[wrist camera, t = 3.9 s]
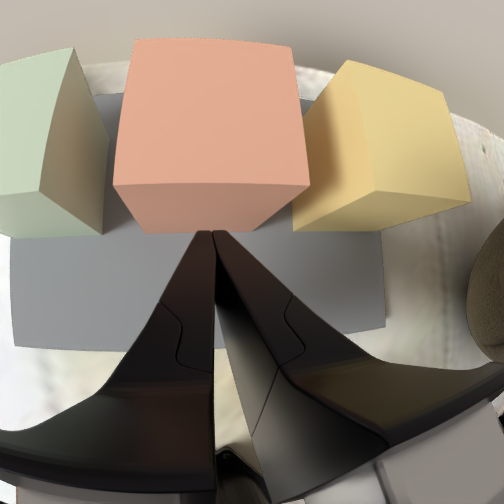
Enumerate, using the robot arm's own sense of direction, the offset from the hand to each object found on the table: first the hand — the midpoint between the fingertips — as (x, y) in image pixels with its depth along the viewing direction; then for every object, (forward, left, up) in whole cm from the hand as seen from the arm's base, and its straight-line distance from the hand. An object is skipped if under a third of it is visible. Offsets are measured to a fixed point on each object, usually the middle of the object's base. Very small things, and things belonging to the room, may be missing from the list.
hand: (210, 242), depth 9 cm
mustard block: (-1, -10, -8) cm, 13 cm away
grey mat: (+3, -2, -9) cm, 10 cm away
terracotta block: (+4, -3, -8) cm, 9 cm away
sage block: (+9, +4, -8) cm, 13 cm away
